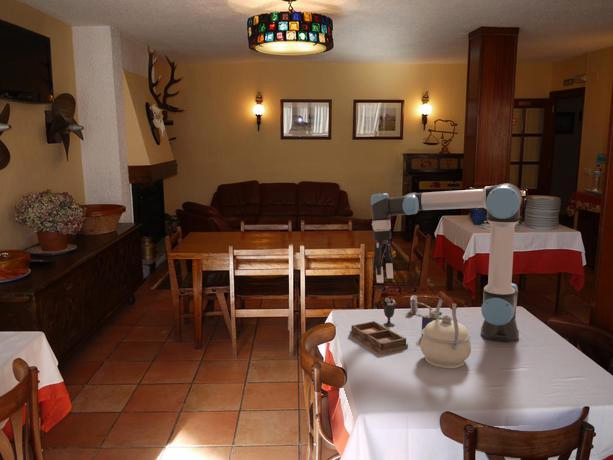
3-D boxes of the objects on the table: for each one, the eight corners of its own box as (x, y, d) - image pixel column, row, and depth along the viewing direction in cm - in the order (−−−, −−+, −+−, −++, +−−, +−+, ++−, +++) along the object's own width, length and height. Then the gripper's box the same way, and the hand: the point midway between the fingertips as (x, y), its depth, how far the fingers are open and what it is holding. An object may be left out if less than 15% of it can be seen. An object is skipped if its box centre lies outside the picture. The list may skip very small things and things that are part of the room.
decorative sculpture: (442, 316, 245) (443, 301, 244) (432, 322, 238) (433, 306, 237) (413, 308, 256) (413, 294, 255) (402, 313, 249) (402, 299, 248)
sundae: (397, 323, 236) (398, 291, 233) (394, 328, 230) (395, 295, 227) (382, 321, 238) (383, 289, 236) (380, 326, 232) (380, 294, 229)
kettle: (479, 372, 187) (483, 306, 182) (429, 374, 186) (432, 307, 181) (455, 345, 211) (458, 285, 207) (410, 346, 210) (412, 286, 206)
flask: (442, 335, 221) (443, 311, 219) (444, 338, 218) (445, 314, 216) (420, 335, 222) (421, 311, 220) (422, 338, 219) (423, 313, 217)
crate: (407, 347, 209) (408, 338, 208) (380, 354, 203) (381, 344, 202) (374, 329, 229) (375, 320, 228) (349, 334, 223) (349, 325, 222)
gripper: (382, 229, 234) (385, 276, 234) (363, 232, 211) (366, 284, 212) (398, 228, 230) (402, 276, 231) (381, 231, 208) (384, 284, 208)
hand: (385, 280), depth 221 cm, fingers open, 13 cm apart
